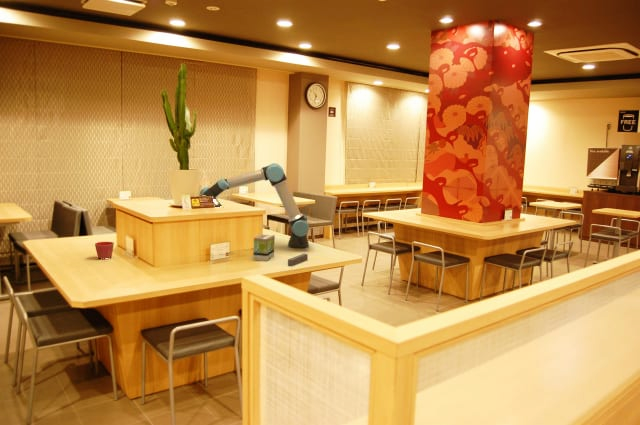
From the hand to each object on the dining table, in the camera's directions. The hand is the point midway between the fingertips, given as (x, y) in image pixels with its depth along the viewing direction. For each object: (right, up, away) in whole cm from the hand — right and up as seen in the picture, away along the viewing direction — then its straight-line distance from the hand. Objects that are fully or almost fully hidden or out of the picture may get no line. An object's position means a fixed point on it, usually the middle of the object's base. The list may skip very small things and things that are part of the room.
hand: (235, 233), depth 338 cm
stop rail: (+42, -18, -18) cm, 49 cm away
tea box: (+20, -16, -8) cm, 27 cm away
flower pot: (-81, -15, -18) cm, 84 cm away
